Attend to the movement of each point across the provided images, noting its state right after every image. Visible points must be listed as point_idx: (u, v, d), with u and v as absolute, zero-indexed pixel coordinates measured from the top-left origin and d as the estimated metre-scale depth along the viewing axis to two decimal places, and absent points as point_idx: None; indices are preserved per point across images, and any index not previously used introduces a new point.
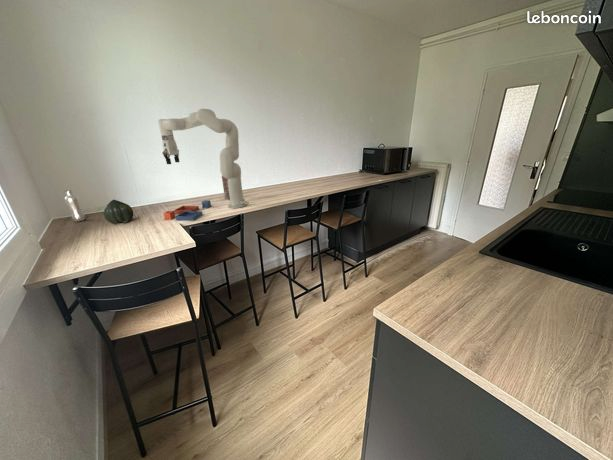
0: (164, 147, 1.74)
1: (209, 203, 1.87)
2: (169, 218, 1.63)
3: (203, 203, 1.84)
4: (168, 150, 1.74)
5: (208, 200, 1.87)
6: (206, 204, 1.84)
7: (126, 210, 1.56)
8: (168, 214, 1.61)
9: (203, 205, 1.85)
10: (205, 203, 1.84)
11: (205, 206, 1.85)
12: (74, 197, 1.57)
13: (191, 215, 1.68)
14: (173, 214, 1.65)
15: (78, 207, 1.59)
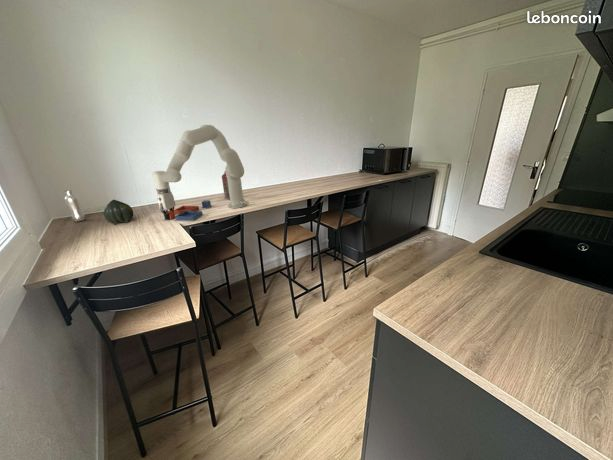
0: (159, 202, 1.56)
1: (209, 203, 1.87)
2: None
3: (203, 203, 1.84)
4: (164, 205, 1.56)
5: (208, 200, 1.87)
6: (206, 204, 1.84)
7: (126, 210, 1.56)
8: None
9: (203, 205, 1.85)
10: (205, 203, 1.84)
11: (205, 206, 1.85)
12: (74, 197, 1.57)
13: (191, 215, 1.68)
14: (173, 214, 1.65)
15: (78, 207, 1.59)
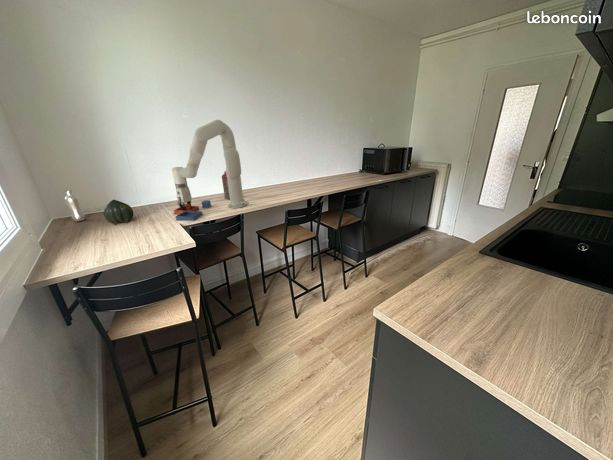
0: (178, 195, 1.69)
1: (209, 203, 1.87)
2: (186, 210, 1.75)
3: (203, 203, 1.84)
4: (182, 198, 1.69)
5: (208, 200, 1.87)
6: (206, 204, 1.84)
7: (126, 210, 1.56)
8: (185, 207, 1.74)
9: (203, 205, 1.85)
10: (205, 203, 1.84)
11: (205, 206, 1.85)
12: (74, 197, 1.57)
13: (191, 215, 1.68)
14: (189, 207, 1.77)
15: (78, 207, 1.59)
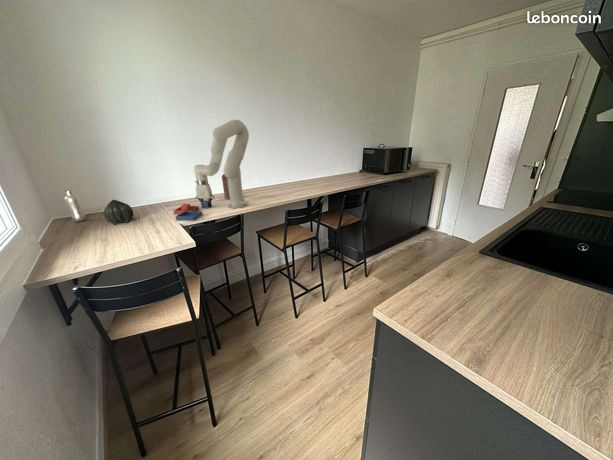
0: None
1: None
2: (186, 210, 1.75)
3: (203, 203, 1.84)
4: None
5: None
6: (206, 204, 1.84)
7: (126, 210, 1.56)
8: (185, 207, 1.74)
9: (203, 205, 1.85)
10: (205, 203, 1.84)
11: (205, 206, 1.85)
12: (74, 197, 1.57)
13: (191, 215, 1.68)
14: (189, 207, 1.77)
15: (78, 207, 1.59)
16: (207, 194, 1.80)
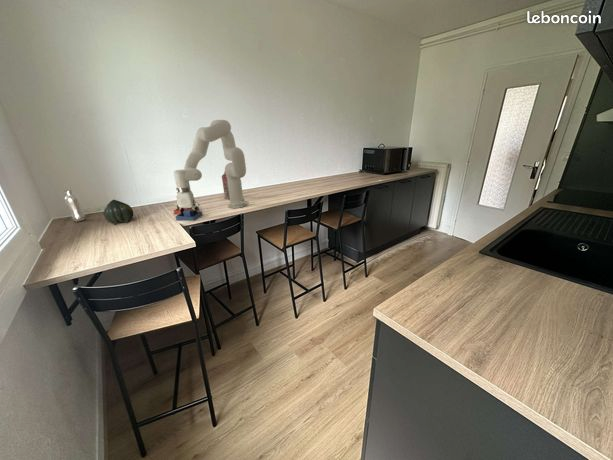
0: None
1: (192, 212, 1.65)
2: None
3: (185, 213, 1.63)
4: None
5: (191, 209, 1.66)
6: (188, 214, 1.63)
7: (126, 210, 1.56)
8: None
9: (185, 215, 1.63)
10: (187, 213, 1.63)
11: (187, 216, 1.64)
12: (74, 197, 1.57)
13: None
14: None
15: (78, 207, 1.59)
16: (189, 203, 1.59)
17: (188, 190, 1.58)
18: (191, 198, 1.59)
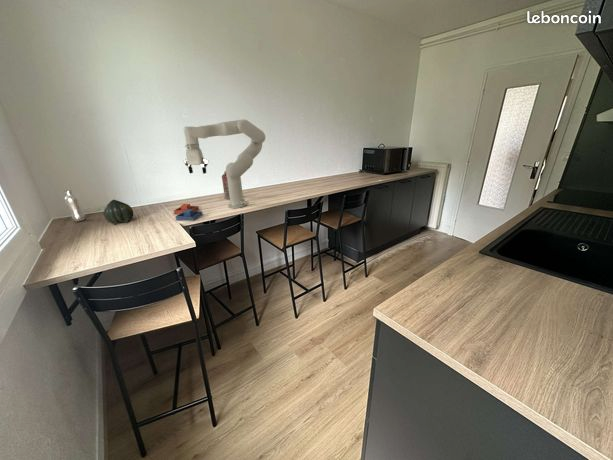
0: None
1: (192, 212, 1.65)
2: None
3: (185, 213, 1.63)
4: None
5: (191, 209, 1.66)
6: (188, 214, 1.63)
7: (126, 210, 1.56)
8: (185, 207, 1.74)
9: (185, 215, 1.63)
10: (187, 213, 1.63)
11: (187, 216, 1.64)
12: (74, 197, 1.57)
13: None
14: (189, 207, 1.77)
15: (78, 207, 1.59)
16: (198, 160, 1.64)
17: (197, 147, 1.63)
18: (200, 155, 1.64)
